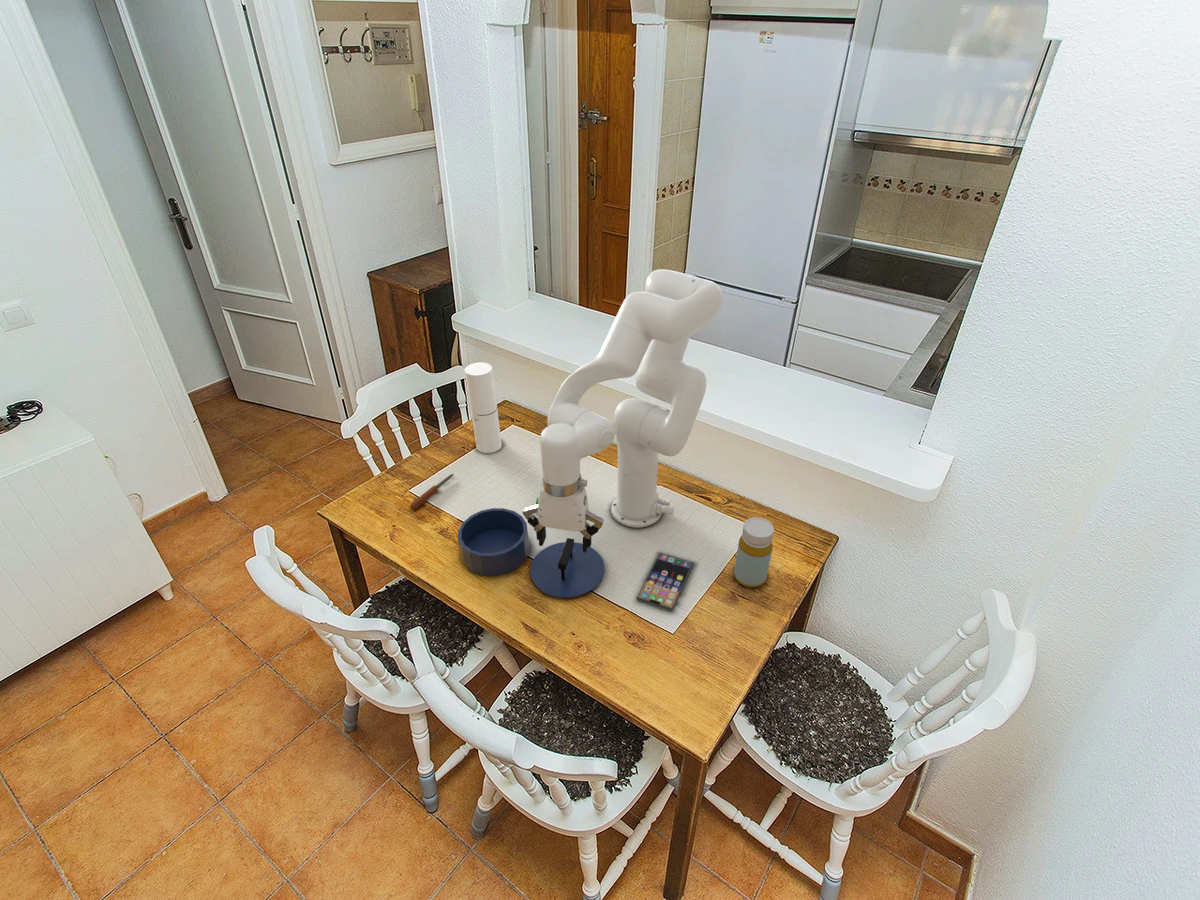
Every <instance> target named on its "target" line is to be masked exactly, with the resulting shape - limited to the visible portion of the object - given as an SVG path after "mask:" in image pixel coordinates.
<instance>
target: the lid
mask: <svg viewBox="0 0 1200 900" xmlns="http://www.w3.org/2000/svg"><path fill="white" fill-rule="evenodd" d="M529 571H530V572H529V574H530V579H531V582H532V583H533V585H534V586H535V588H536V589H538V590H539V591H540V592H542V593H543V594H544V595H545V594H546V595H548V596H549V597H554V598H557V599H572V598H574V599H575V598H577V597H581V596H585V595H586V594H588V593H590V592H592V591H593V590H595V588H597V587H598V586H599V585H600V583H601V581H602V580H603V578H604V575H605V562H604V559H603V557H602V556H601V555H600V553H599V552H598V551H597V550H596V549H595V548H593V547H588V548H587V551H586V552H583V543H581V542H577V541H575V538H571V537H567V538H566V540H565V541H564V542H563V541H562V542H557V543H553V544H551V545H548V546H546V547H544V548H543V549H542V550H540V551H539V552H538V553H537V554H536V555H535V556H534V558H533V559H532V561H531V564H530V568H529Z"/></svg>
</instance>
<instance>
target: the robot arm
mask: <svg viewBox="0 0 1200 900" xmlns="http://www.w3.org/2000/svg"><path fill="white" fill-rule="evenodd" d="M722 303H723V291H722V289H721V287H720V286H719V284H717V283H716V282H714V281H712V280H709V279H705V278H701V277H698V276H694V275H690V274H687V273H684V272H680V271H676V270H671V269H664V268H663V269H662V268H661V269H654V270H652V271H651V272H650V273H649V274H648V276H647V278H646V281H645V286H644V291H641V290H639V291H633V292H631V293H629V294H628V295H626V297H625V298H624V299H623V301H622V303H621V304H620V307H619V309H618V312H617V313H616V316H615V318H614V320H613V322H612V324H611V326H610V328H609V330H608V333H607V334H606V337H605V339H604V341H603V343H602V345H601V347H600V350H599V352H598V353H597V355H596V356H595V357H594V358H592V359H591V360H589V361H587V362H586V363H583V364H582V365H580V366H579V367H578V368H577V369H575V370H574V371H573V372H572V373H571V374H570V375H568V376H567V377H566V378H565V380H564V381H563V382H562V383H561V385H560V387H559V388H558V390H557V393H556V395H555V397H554V399H553V401H552V403H551V406H550V408H549V411H548V414H547V426H546V427H545V428H543V430H542V431H541V433H540V436H539V444H540V462H541V476H542V481H541V483H540V486H539V492H538V497H539V499H538V504H537V505H536V504H534V505H530V506H527V507H524V509H523V510H522V516H523V517H524V519H525V520H526V521H527V522H526V523H527V524H529V525H530V526H531V527H532V528H533V530H534V532H536V533H535V534H536V540H538V545H539V546H540V547H542V546H544V544H545V541H546V539H547V531H546V530H547V528H549V529H555V530H563V531H570V532H579V533H580V534H581V535H582V536H583V537H582V544H583V552H586V551H587V548H588V547H591V546H592V537H593V536H594V535H596V534H597V533H599V531H600V529H601V528H602V527H603V526H604V522H605V518H603V517H601V516H599V515H598V514H595V513H593V512H591V510H590V509H589V501H588V494H587V490H586V487H588V479H584V478H583V477H582V473H581V459H584V458H586V457H590V456H593V455H595V454H599V453H600V452H603V451H604V450H606V449H607V448H609V446H611V444H612V443H613V442H614V439H616V446H617V497H616V498H615V499H613V501H612V503H611V507H610V511H611V515H612V517H613V519H614V520H615V521H617V522H618V523H619V524H621V525H623V526H625V527H629V528H634V529H635V528H636V529H637V528H638V529H639V528H645V527H649V526H653V524H655V523H656V522H658V521H659V520H660V518H661V516H662V513H665V514H666V515H667V514H669V515H674V510H675V506H673V505H670V504H671V500H670V499H661V497H660V495H659V494H660V493H659V492H657V489H658V471H659V470H658V469H659V455H662V456H665V457H675V456H677V455H679V453H681V452H682V451H683V449H684V448H685V446H686V444H687V442H688V440H689V438H690V434H691V432H692V429H693V427H694V424H695V421H696V420H697V417H698V414H699V411H700V408H701V405H702V403H703V401H704V399H705V395H706V390H707V376H706V374H705V372H704V371H703V369H701V368H699V367H698V366H696V365H693V364H691V363H688V362H685V361H684V360H683V359H684V357H685V353H686V350H687V347H688V345H689V340H690V338H691V337H692V336H693V335H695V333H697V332H698V331H699V330H701V329H702V328H703V327H705V326H706V325H707V324H709V323H710V322H711V321H713V319H714V318H715V317H716V316H717V315H718V313H719V311H720V309H721V307H722ZM634 376H635V379H634V381H635V386H636V388H637V390H639V391H640V392H641V393H643V394H645V395H647V396H649V397H652V398H655V399H657V400H658V401H662V402H664V403H666V404H669V405H670V409H667V408H664V407H662V406H660V405H657V404H655V403H653V402H650V401H647V400H645V399H642V398H636V397H629V398H626V399H623V400H622V401H620V402H619V403H618V405H617V406H616V408H615V410H614V413H613V416H612V417H613V419H612V420H610V419H609V418H607V417H605V416H603V415H601V414H598V413H596V412H594V411H592V410H589V409H587V408H585V407H583V406H580V405H579V403H580V402H581V399H582V397H583V396H584V394H586V392H587V391H588V390H590V389H591V388H592V387H593V386H596V385H597V384H600V383H602V382H603V383H604V382H607V381H612V380H618V379H619V380H620V379H627V378H632V377H634ZM612 421H613V422H612ZM534 514H537V517H536V515H534ZM588 521H589V522H591V523H593V524H592V525H591V524H590V523H589V522H588ZM591 548H592V547H591Z"/></svg>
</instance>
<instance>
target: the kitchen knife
mask: <svg viewBox="0 0 1200 900" xmlns="http://www.w3.org/2000/svg"><path fill="white" fill-rule="evenodd" d="M454 475H455V474H453V473H451V474H449V475H448V476H447V477H445V478H444V479H443V480H441V481H440V482H439V483H437V484H436V485H435V484H434V485H432V486H431V487H430V488H428V489H427V490H426V491H425V492H423V493H422V494H420V496H418V498H416V499H415V500H414V501H413V502H411V503H410V504H409V505H410V506H409V508H410V509H411V510H413V511H415V510H417V509H419V508H420V507H421V506H422V505H423V504H425V503H426V502H427V501H428V500H429V499H430V498H431V497H433V496H434V495H435V494H437V493H438V491H439V489H440V488H442V487H443V486H444V485H445V484H446V483H447V482H448V481H449V480H450V479H451V478H453V477H454Z"/></svg>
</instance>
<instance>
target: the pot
mask: <svg viewBox="0 0 1200 900" xmlns="http://www.w3.org/2000/svg"><path fill="white" fill-rule="evenodd" d="M526 521H527V520H526V519H525V517H524V516H523V515H521V514H520V513H518V512H516V511H515V510H512V509H508V508H503V507H500V508H499V507H493V508H487V509H483V510H479V511H477V512H475V513H473V514H471V515H469V516H468V518H466V519H465V520H463V522H462V523H461V525H460V526H459V529H458V530H457V542H458V548H459V553H460V558H461V560H462V563H463V565H464V566H465V567H466V568H467V569H468V570H469V571H470V572H472V573H475V574H476V575H480V576H485V577H497V576H501V575H505V574H509V573H511V572H513V571H515V570H516V569H518V568H519V567H521V566H522V565H523V564H524V562H525V561H526V560H527V558H528V556H529V553H530V541H529V540H530V539H529V530H528V522H526Z"/></svg>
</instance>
